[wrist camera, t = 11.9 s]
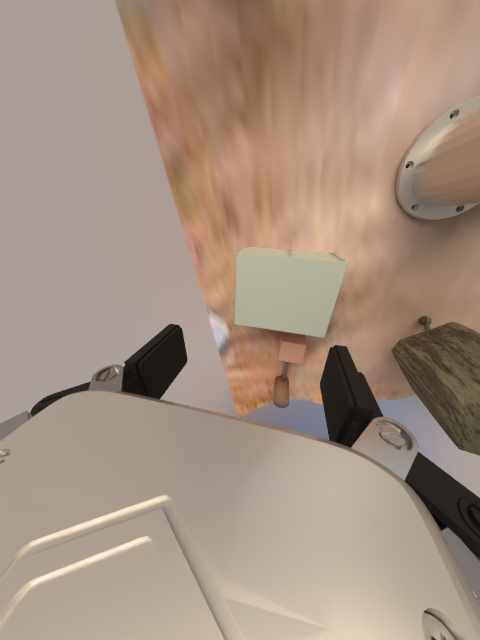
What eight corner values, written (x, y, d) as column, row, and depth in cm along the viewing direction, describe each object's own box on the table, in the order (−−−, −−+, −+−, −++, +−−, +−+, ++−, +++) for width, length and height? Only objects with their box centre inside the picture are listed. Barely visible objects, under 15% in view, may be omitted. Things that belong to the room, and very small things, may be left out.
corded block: (304, 332, 41) (307, 351, 35) (290, 387, 49) (290, 410, 43) (281, 329, 42) (281, 346, 36) (271, 383, 50) (269, 405, 44)
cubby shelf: (332, 253, 33) (348, 262, 24) (316, 313, 38) (324, 337, 30) (248, 246, 35) (237, 253, 27) (244, 304, 41) (234, 324, 33)
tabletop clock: (454, 362, 36) (701, 563, 15) (402, 377, 40) (535, 552, 19) (430, 305, 33) (707, 460, 11) (375, 327, 37) (501, 474, 15)
